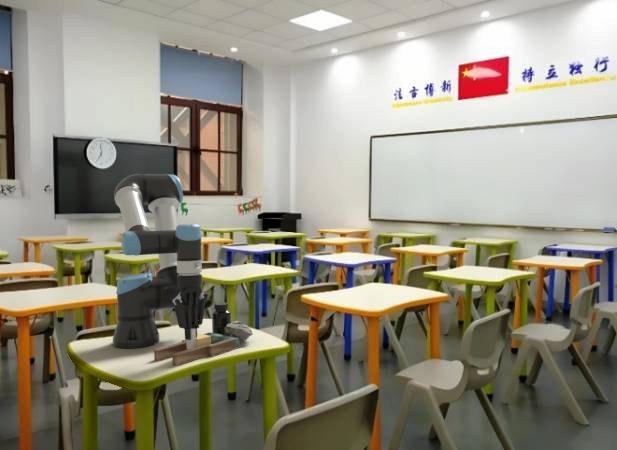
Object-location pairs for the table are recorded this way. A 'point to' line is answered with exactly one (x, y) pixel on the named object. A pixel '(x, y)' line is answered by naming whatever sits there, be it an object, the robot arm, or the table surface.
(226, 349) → the chute
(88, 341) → the table surface
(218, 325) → the supplement bottle
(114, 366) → the table surface
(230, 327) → the mineral specimen
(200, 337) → the block
